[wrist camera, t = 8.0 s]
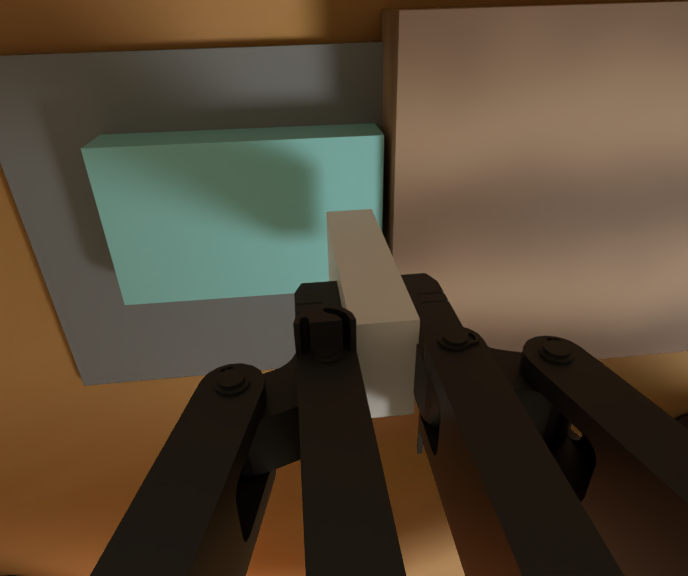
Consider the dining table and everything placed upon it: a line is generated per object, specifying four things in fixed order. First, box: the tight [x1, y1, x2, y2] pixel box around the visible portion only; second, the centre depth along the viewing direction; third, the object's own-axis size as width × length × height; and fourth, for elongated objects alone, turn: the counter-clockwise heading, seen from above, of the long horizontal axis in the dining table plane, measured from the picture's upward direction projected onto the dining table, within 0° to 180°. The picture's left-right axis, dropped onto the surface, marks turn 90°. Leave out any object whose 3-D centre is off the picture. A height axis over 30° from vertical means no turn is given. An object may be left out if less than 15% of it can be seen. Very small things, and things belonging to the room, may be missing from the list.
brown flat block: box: [381, 0, 688, 359], centre depth 20 cm, size 14×18×3 cm
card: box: [81, 123, 384, 305], centre depth 19 cm, size 6×10×2 cm, turn 91°
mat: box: [0, 42, 383, 386], centre depth 20 cm, size 14×14×1 cm
